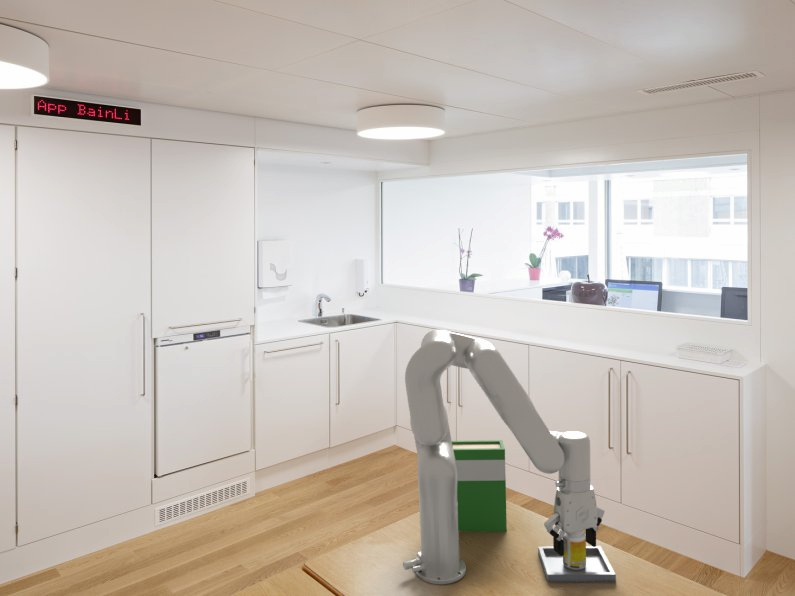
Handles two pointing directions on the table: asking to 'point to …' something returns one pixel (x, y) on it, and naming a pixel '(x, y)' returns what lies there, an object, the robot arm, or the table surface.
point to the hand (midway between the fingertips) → (575, 548)
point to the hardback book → (481, 485)
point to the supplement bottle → (574, 550)
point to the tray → (593, 571)
